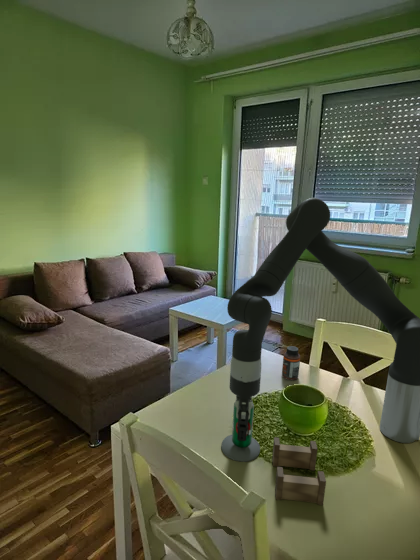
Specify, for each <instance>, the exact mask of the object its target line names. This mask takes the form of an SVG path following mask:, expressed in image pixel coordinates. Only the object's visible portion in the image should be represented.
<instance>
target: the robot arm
mask: <svg viewBox="0 0 420 560" xmlns="http://www.w3.org/2000/svg"><path fill="white" fill-rule="evenodd" d="M285 219H286V220H285V225H286V229H287V232H286V233H285V235H284V237H283V238H282V239H280V241H279V243H278V244H277V245H276V246H275V247H274V248H273V249H272V250H271V252H270V253H269V254H268V256H267V257H266V258H265V259H264V261H262V263H261V265H260V266H259V268H258V269H257V271H256V272H255V274H253V276H252V277H251V278H249V279H248V280H247V281H246V282H244V283H243V284H242V285H241V286H240V287H238V288H237V289H236V290H235V291H234V292H233V294H232V295H231V296H230V298H229V300H228V302H227V306H226V307H227V313H228V316H229V317H230V318H231V319H232V320H234V321H236V322H240V323H244V324H247V325H248V329H242V330H237V331H236V332H235V333H234V334H233V337H232V347H231V348H232V351H231V353H232V354H231V359H230V360H231V361H230V372H229V373H230V374H229V390H230V392H231V393H232V394H233V395H235V397H236V398H235V401H236V406H237V410H236V418H237V419H238V424H237V426H238V427H237V430H238V436H237V440H238V441H246V435H247V431H248V420H249V419H250V409H251V407H252V401H253V397H255V396H257V395H258V394H259V393H260V391H261V379H262V348H263V347H262V346H263V341H264V337H265V334H266V331H267V329H268V325H269V324H270V320H271V318H272V313H273V309H272V305H271V303H270V301H269V300H268V298H265V297H273V296H275V295H277V294H278V293H279V291H280V289H281V288H282V286H284V285H283V284H284V283H285V282H286V280H287V278H288V277H289V275H290V273H291V272H292V270H293V269H294V267H295V265H296V264H297V262H298V260H299V259H300V258H301V256H302V255H303V253H304V252H305V250H307V251H308V252H309V253H310V254H311V255H312V256H314V258H316V259H317V260H318V261H319V262H320V263H321V264H322V266H323V267H325V269H326V270H327V271H328V272H329V273H330V274H331V275H332V276H333V277H334V278H335V280H336V281H338V282H339V284H340V285H341V286H342V288H343V289H344V290H345V291H347V293H349V295H350V296H351V297H352V298H353V299H354V300H355V301H356V302H358V303H359V304H360V305H362V306H363V307H364V308H366V309H368V311H370V312H371V313H372V314H374V316H376V317H377V318H378V319H379V320H380V322H381V323H382V324H383V326H384V327H385V328H386V329H387V331H388V332H389V333H390V335H391V337H392V338H393V340H394V342H395V350H394V355H393V361H392V362H391V363H390V365H389V366H388V367H389V368H388V374H387V381H386V387H385V392H384V397H383V398H384V399H383V404H382V411H381V416H380V422H379V431H380V432H381V433H382V434H383V435H384V436H385V437H387V438H389V439H390V440H392V441H394V442H398V443H403V444H411V443H414V442H415V441H414V440H419V441H420V317H418V316H417V315H416V314H415V313H414V312H413V311H412V310H410V309H409V308H408V307H407V306H406V304H404V303H403V302H402V301H401V299H399V298H398V296H396V294H395V293H394V291H393V290H392V288H391V287H390V285H389V284H388V282H387V281H386V280H385V279H384V277H383V276H382V275H381V274H380V272H379V271H377V269H376V268H375V267H374V266H373V265H372V264H371V263H370V262H369V261H368V260H367V259H366V258H365V257H364V256H361V255H360V254H358V253H356V252H354V251H352V250H350V249H347V248H345V247H342V246H340V245H338V244H337V243H335V242H334V241H332V240H331V238H329V237H328V236H327V235H326V234H325V233H324V232H323V230H324V229H326V227H327V226H328V224H329V222H330V219H331V210H330V208H329V206H328V204H327V202H325V201H323V200H322V199H320V198H317V197H310V198H307V199H304V200H303V201H301V202H300V203H299V204H297V206H296V207H295V208H294V209H293V210H292V211H291V212H290V213H289V214H288V215H287V217H286V218H285ZM248 405H249V407H248ZM238 411H239V412H238ZM410 442H411V443H410Z"/></svg>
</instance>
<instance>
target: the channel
mask: <svg viewBox="0 0 420 560" xmlns="http://www.w3.org/2000/svg"><path fill="white" fill-rule="evenodd" d="M272 446H273V448H272V457H271V458H272V466H273V467H276V473H275V474H276V475H275V485H274V494H275V501H282V500H286V501H287V500H288V501H298V502H307V503H313V504H314V503H315V504H316V505H320V506H324V500H325V493H326V486H327V480H326V476H325V472H324V471H323V470H322V471H320V470H318V471H317V475H316V477H308V476H301V475H291V474H284V469H283V467H287V468H288V467H290V468H298V469H308V470H309V471H316V465H317V464H316V463H317V456H318V455H317V454H318V445H317V443H316V441H315V440H310V441H309V446H300V445H293V444H292V445H289V444H282V443H280V437H276V436H275V437H273V445H272Z"/></svg>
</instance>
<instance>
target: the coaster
mask: <svg viewBox="0 0 420 560" xmlns="http://www.w3.org/2000/svg"><path fill="white" fill-rule="evenodd" d="M260 445H261V444H259V442H258V441H257V440H256V439H255V438H254V437H252V442H251V444H250V445H249V446H248V447H246V448H239V447H237V446H235V445H234V443H233V442H232V434H229V435H227V436H225V437H224V438H223V440H222V441H221V451H222V453H223V454H224V455H225V457H227V458H228V459H230V460H232V461H235V462H242V463H243V462H246V463H247V462H250V461H253V460H255V459H256V458H257V457H259V454H260V452H261V446H260Z"/></svg>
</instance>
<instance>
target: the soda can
mask: <svg viewBox="0 0 420 560" xmlns="http://www.w3.org/2000/svg"><path fill="white" fill-rule="evenodd" d="M248 407H249V405H248ZM236 410H237V406H236V400H235V401H234V403H233V411H232V412H233V414H232V416H233V418H232V431H231V432H232V433H231V435H232V442H233V443H234V445H235V446H237V447H239V448H246V447H248V446H249V445H250V444H251V442H252V438H253V426H254V424H253V423H254V414H255V413H254V412H255V405H254V403H253V400H252V407H251V409H250V419H249V420H248V431H247V435H246V441H238V440H237V436H238V430H237V427H238V426H237V424H238V419H237V418H236ZM238 412H239V411H238Z"/></svg>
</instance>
